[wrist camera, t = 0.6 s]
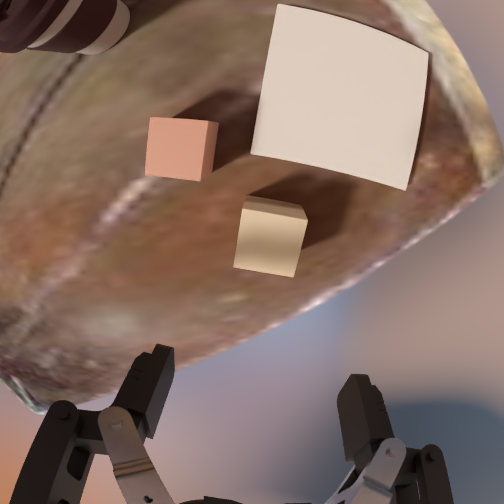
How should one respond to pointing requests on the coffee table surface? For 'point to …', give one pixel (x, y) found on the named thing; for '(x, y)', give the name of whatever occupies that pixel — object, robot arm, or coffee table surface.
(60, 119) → the coffee table surface
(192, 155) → the terracotta block
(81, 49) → the coffee cup
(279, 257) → the maple block
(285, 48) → the base plate
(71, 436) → the robot arm
